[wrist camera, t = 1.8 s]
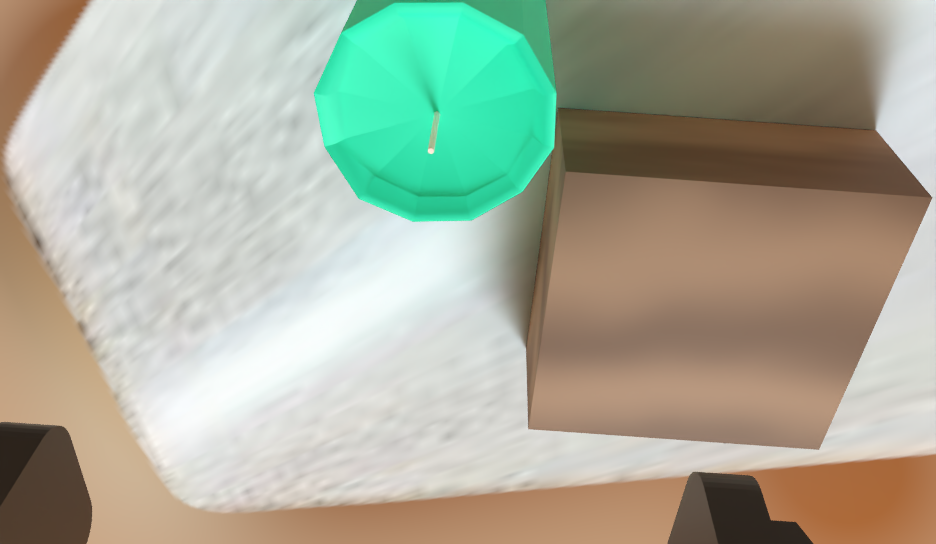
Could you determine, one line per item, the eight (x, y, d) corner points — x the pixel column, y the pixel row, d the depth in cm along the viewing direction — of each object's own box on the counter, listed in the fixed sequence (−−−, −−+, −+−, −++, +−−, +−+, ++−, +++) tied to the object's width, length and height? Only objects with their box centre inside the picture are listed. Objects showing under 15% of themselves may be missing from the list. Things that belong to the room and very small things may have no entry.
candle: (518, -125, 26) (525, -15, 16) (561, 49, 29) (587, 228, 20) (345, -70, 27) (255, 64, 18) (404, 92, 31) (356, 281, 21)
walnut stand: (558, 107, 31) (565, 171, 27) (876, 130, 31) (932, 197, 27) (526, 349, 38) (528, 428, 34) (785, 367, 38) (819, 449, 34)
